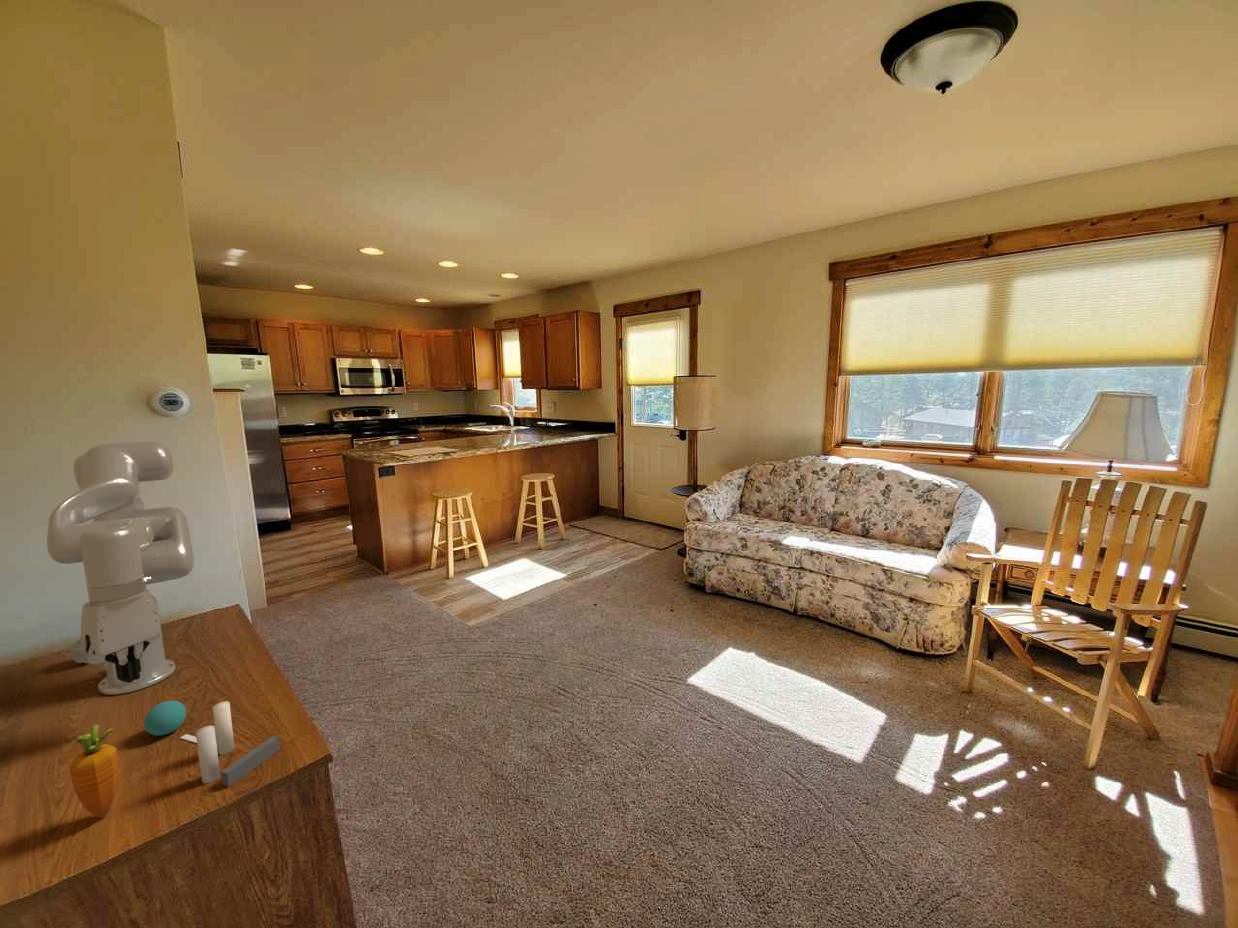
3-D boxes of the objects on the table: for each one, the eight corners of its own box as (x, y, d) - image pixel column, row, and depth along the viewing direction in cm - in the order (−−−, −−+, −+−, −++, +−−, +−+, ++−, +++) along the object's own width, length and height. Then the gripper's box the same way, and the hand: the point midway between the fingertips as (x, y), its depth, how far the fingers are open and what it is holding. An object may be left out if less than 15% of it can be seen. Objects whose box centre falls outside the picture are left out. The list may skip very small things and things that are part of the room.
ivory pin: (214, 752, 88) (209, 708, 87) (228, 743, 91) (223, 700, 89) (224, 755, 88) (218, 710, 86) (237, 746, 90) (232, 702, 89)
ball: (138, 738, 92) (133, 710, 91) (174, 718, 98) (171, 691, 97) (159, 745, 90) (155, 716, 89) (195, 724, 96) (191, 697, 95)
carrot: (101, 804, 77) (87, 719, 75) (134, 802, 78) (122, 717, 75) (69, 832, 72) (53, 742, 70) (105, 830, 73) (90, 740, 71)
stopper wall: (222, 784, 81) (220, 771, 81) (274, 747, 90) (272, 735, 89) (228, 786, 81) (227, 773, 80) (280, 749, 89) (278, 737, 89)
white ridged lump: (82, 671, 114) (77, 643, 113) (63, 666, 116) (58, 639, 115) (114, 658, 120) (110, 631, 119) (96, 653, 122) (92, 627, 121)
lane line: (180, 738, 92) (180, 737, 92) (186, 734, 93) (186, 733, 93) (213, 748, 89) (213, 747, 89) (219, 744, 90) (219, 743, 90)
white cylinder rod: (198, 781, 82) (192, 733, 81) (213, 770, 84) (207, 724, 83) (208, 784, 81) (202, 736, 80) (223, 774, 84) (217, 727, 82)
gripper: (151, 575, 100) (162, 657, 103) (50, 603, 86) (65, 698, 88) (175, 578, 98) (186, 662, 100) (76, 608, 84) (91, 705, 86)
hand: (130, 679), depth 94 cm, fingers closed
